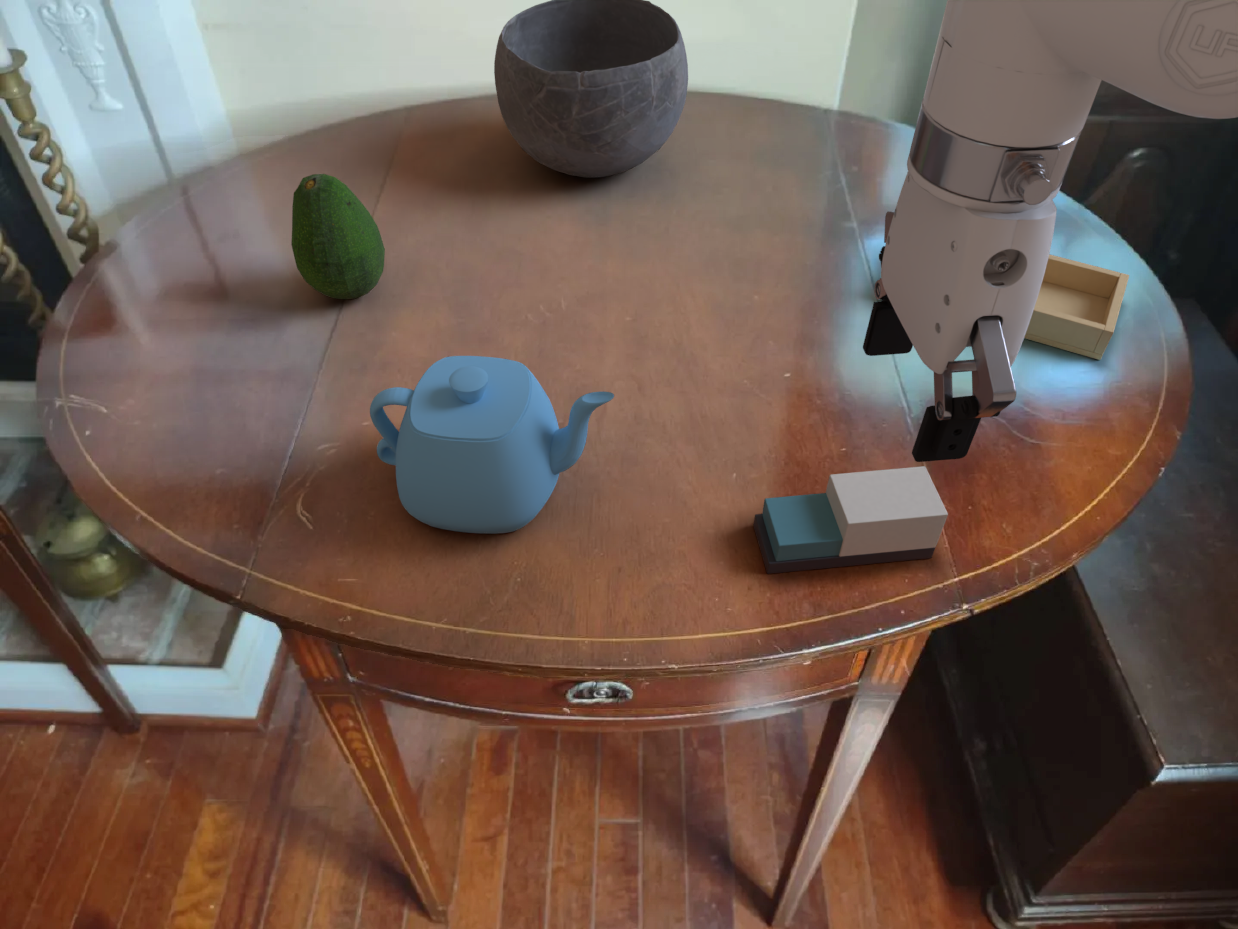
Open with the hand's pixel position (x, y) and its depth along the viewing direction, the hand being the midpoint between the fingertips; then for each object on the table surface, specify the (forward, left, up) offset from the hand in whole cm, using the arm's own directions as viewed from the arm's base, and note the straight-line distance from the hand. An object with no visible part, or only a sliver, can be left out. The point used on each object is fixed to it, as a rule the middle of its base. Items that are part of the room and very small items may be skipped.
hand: (910, 401), depth 59 cm
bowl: (+45, -39, -14) cm, 61 cm away
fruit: (+53, -6, -14) cm, 55 cm away
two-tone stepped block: (+2, +1, -13) cm, 13 cm away
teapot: (+27, +8, -14) cm, 31 cm away
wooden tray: (-2, -34, -13) cm, 36 cm away
